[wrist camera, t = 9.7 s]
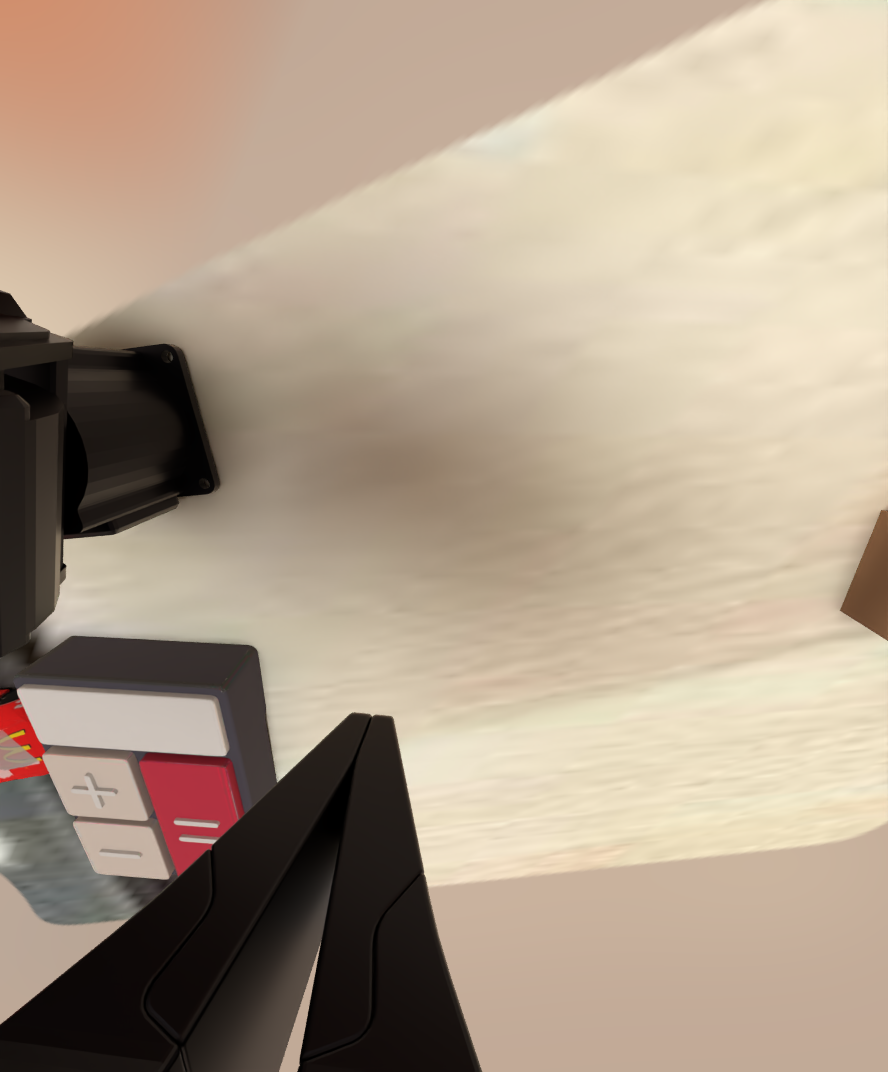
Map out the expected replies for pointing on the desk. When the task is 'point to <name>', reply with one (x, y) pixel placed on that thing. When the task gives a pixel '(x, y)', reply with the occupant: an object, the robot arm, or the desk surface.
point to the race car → (18, 741)
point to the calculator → (150, 745)
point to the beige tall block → (871, 583)
